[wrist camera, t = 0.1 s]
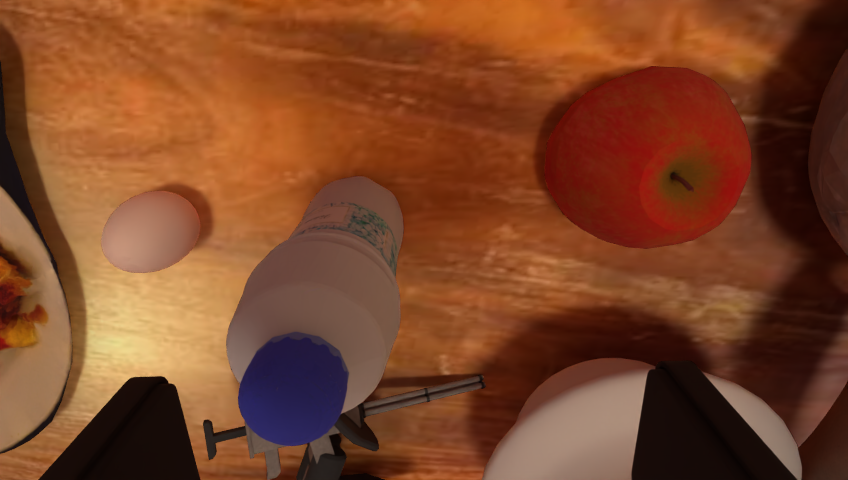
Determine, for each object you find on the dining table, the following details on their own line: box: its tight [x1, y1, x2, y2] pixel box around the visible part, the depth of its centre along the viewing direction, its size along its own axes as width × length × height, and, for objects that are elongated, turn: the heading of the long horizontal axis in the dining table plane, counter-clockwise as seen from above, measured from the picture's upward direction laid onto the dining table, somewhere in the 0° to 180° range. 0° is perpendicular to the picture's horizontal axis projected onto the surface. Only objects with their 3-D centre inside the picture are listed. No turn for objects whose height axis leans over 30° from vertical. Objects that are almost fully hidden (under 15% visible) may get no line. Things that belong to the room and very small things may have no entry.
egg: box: [101, 191, 200, 273], centre depth 30 cm, size 5×5×7 cm
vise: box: [203, 375, 486, 480], centre depth 36 cm, size 13×20×13 cm
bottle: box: [226, 176, 404, 446], centre depth 24 cm, size 7×7×20 cm
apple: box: [544, 66, 752, 249], centre depth 27 cm, size 10×10×10 cm
